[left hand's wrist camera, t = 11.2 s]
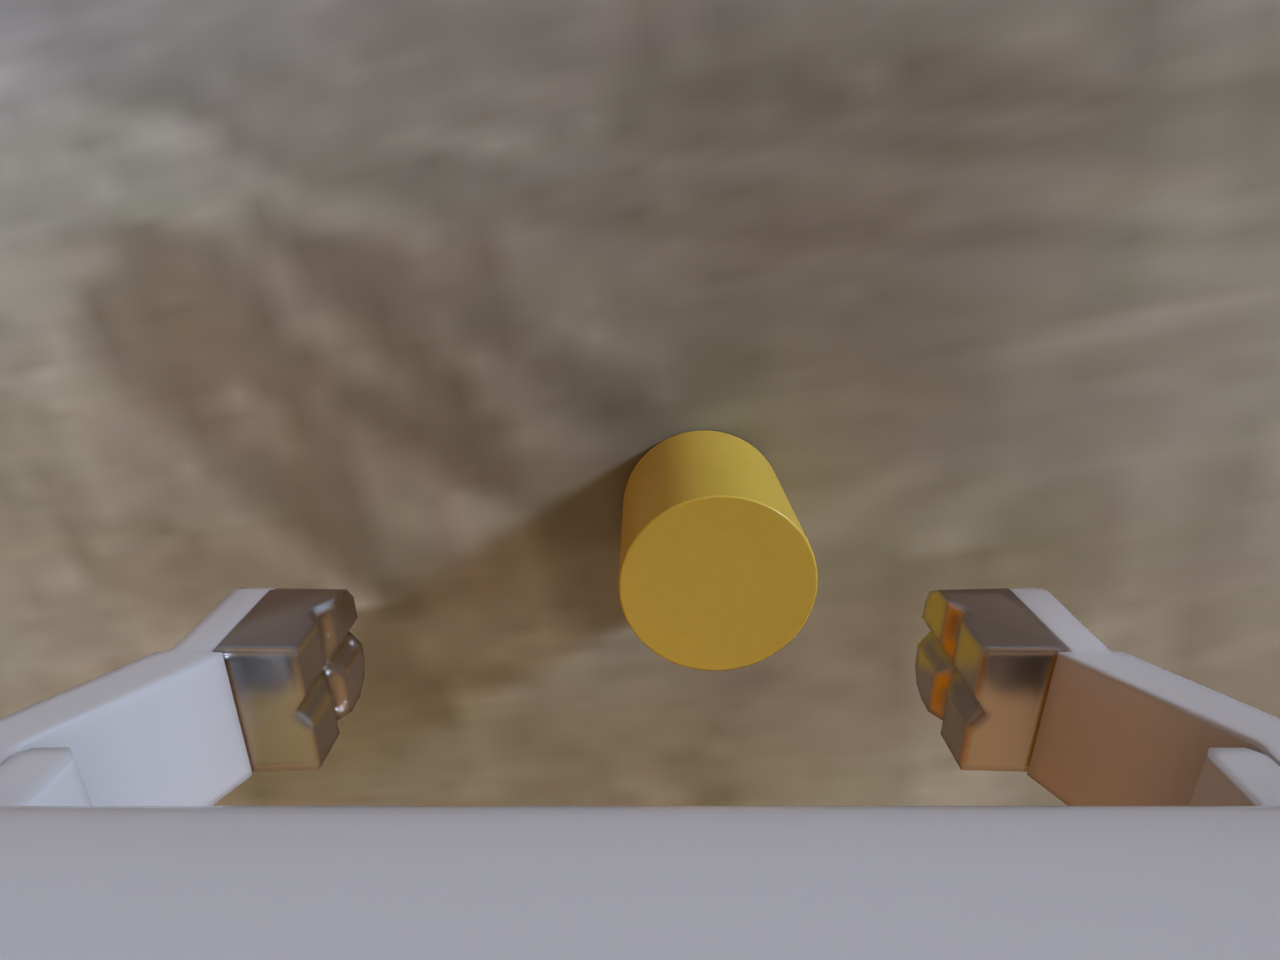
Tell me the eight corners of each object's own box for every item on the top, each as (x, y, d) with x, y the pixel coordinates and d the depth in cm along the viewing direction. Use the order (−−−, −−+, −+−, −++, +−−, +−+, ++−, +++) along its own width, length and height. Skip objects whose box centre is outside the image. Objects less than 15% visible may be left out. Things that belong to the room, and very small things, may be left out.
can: (595, 473, 18) (582, 549, 14) (740, 402, 17) (769, 461, 13) (666, 597, 19) (672, 698, 15) (804, 535, 19) (848, 625, 15)
